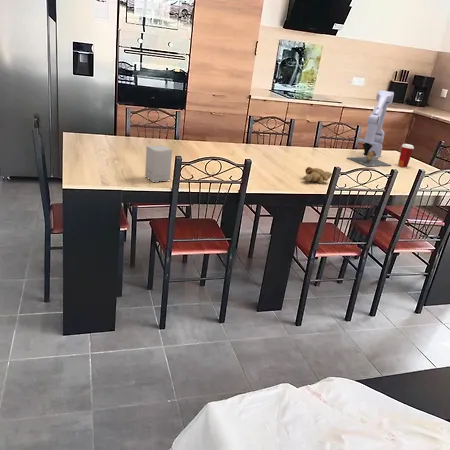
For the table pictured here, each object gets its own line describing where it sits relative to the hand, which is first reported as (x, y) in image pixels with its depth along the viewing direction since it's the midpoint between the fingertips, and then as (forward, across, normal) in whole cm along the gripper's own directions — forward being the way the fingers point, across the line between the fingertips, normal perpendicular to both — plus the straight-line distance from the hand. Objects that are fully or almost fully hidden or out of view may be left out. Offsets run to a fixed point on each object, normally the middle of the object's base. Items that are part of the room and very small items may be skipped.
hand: (365, 155), depth 285 cm
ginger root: (+5, +17, -65) cm, 68 cm away
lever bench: (+5, 0, +5) cm, 7 cm away
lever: (+2, -1, +7) cm, 8 cm away
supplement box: (+4, -9, -145) cm, 145 cm away
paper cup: (+5, +14, +22) cm, 27 cm away
